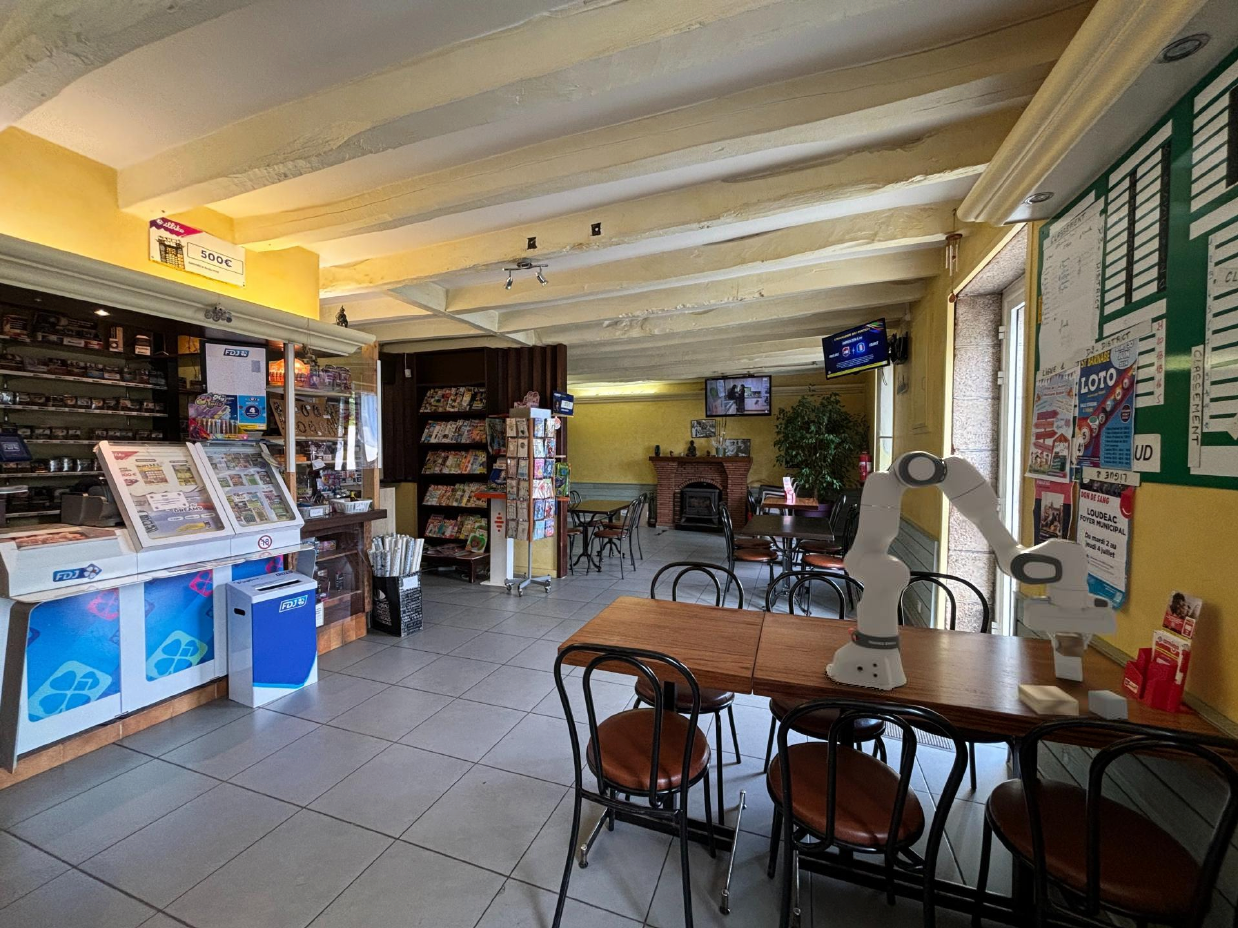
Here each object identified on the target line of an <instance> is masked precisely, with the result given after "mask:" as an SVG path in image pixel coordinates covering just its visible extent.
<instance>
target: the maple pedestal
mask: <svg viewBox="0 0 1238 928" xmlns="http://www.w3.org/2000/svg"><path fill="white" fill-rule="evenodd" d="M1017 688H1018V689H1017V691H1018V699H1019V700H1020V701H1022V702H1023V703H1024V704H1025V705H1026V706H1028V707H1029V708H1030V709H1031V710H1033V711H1035V712H1036V714H1038V715H1055V716H1056V715H1058V716H1076V717H1077V716H1080V712H1079V711H1080V710H1079V709H1080V708H1079V707H1080V706H1079V701H1078V700H1077V699H1075V697H1073V696H1071V695H1069V694H1068V693H1066V692H1065V691H1064V690H1062V689H1061V688H1059V687H1058V686H1054V685H1031V684H1017Z"/></svg>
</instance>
